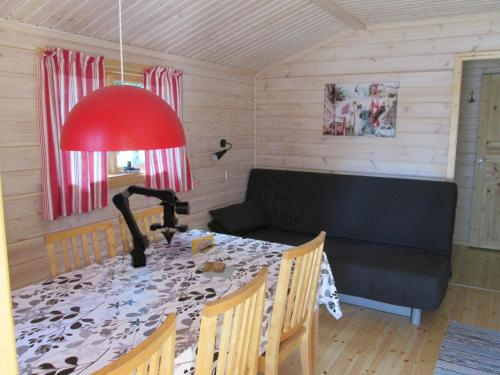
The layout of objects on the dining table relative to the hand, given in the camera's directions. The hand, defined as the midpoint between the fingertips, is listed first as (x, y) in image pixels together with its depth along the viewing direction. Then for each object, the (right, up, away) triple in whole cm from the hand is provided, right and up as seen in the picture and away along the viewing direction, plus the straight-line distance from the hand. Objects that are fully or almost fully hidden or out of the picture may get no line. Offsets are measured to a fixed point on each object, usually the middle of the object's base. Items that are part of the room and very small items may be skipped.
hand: (169, 244), depth 219 cm
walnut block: (+18, -11, -2) cm, 21 cm away
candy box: (+14, -8, +30) cm, 34 cm away
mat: (+26, -13, -3) cm, 29 cm away
